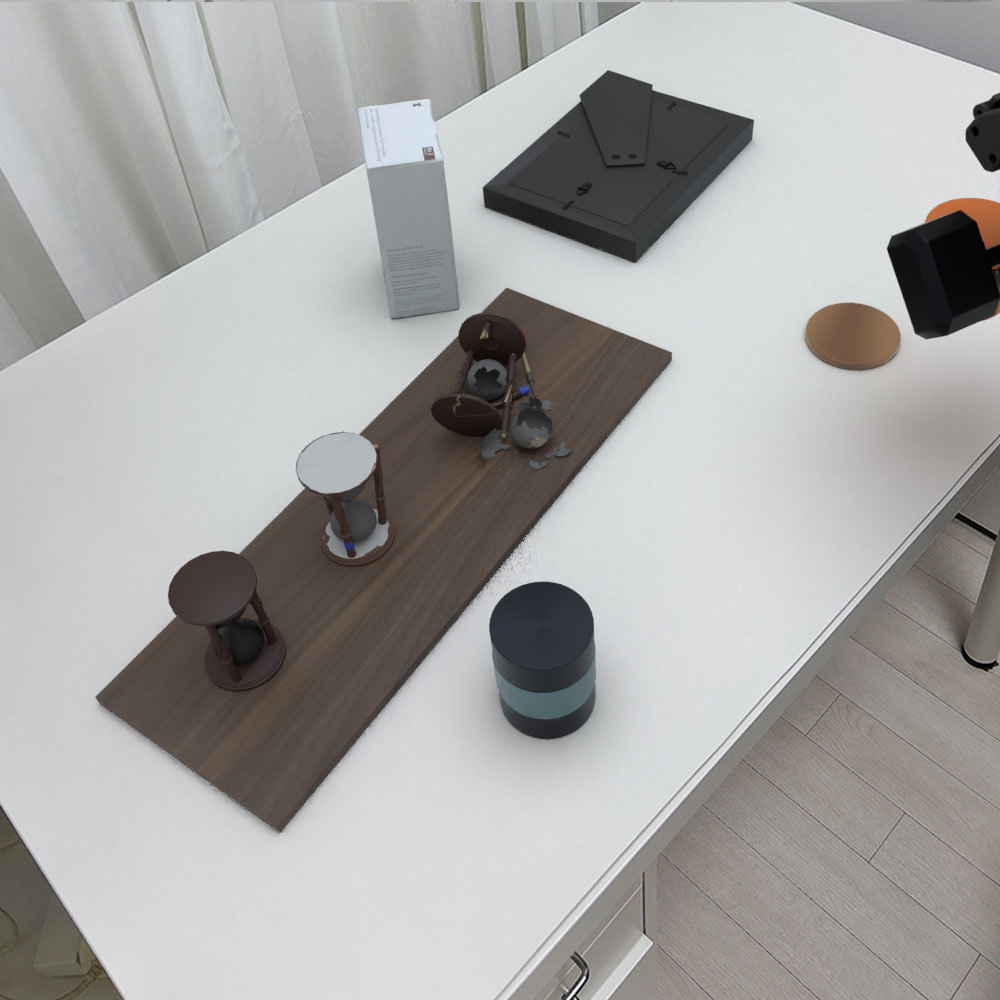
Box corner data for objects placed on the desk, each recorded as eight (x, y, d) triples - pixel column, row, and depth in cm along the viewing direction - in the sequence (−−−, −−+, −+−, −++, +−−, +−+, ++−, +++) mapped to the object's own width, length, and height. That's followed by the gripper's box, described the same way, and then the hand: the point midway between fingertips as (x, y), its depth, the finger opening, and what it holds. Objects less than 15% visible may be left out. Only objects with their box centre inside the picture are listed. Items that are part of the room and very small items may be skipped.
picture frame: (608, 96, 109) (484, 207, 99) (607, 69, 107) (481, 179, 97) (752, 139, 102) (635, 262, 92) (755, 112, 100) (635, 235, 90)
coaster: (890, 306, 87) (891, 300, 86) (907, 368, 82) (909, 362, 82) (799, 309, 87) (800, 303, 87) (811, 371, 83) (812, 365, 82)
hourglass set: (671, 360, 85) (676, 272, 78) (280, 832, 63) (241, 765, 56) (507, 294, 91) (499, 208, 85) (99, 703, 69) (46, 629, 63)
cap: (1030, 302, 70) (1054, 239, 67) (950, 335, 69) (970, 271, 65) (965, 249, 74) (984, 186, 70) (888, 279, 73) (904, 216, 69)
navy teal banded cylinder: (595, 654, 69) (594, 579, 63) (597, 740, 65) (595, 670, 59) (501, 654, 69) (490, 580, 63) (497, 740, 65) (485, 670, 59)
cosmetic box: (382, 261, 95) (352, 104, 84) (451, 250, 96) (430, 92, 84) (392, 324, 90) (360, 166, 78) (465, 312, 90) (444, 153, 79)
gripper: (1241, -2, 57) (1026, 96, 72) (951, 106, 53) (787, 186, 68) (1299, 203, 59) (1076, 257, 74) (1021, 324, 54) (845, 355, 70)
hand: (950, 260), depth 71 cm, fingers closed on cap, 6 cm apart
